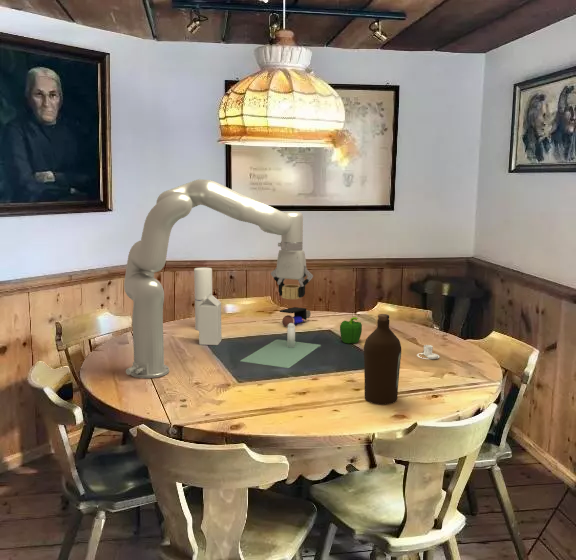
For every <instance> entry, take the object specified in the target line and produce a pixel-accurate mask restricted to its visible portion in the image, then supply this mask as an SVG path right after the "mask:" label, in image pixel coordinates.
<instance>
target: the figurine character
mask: <svg viewBox="0 0 576 560" xmlns="http://www.w3.org/2000/svg"><path fill="white" fill-rule="evenodd" d="M279 313H286V314H287V315H284V317H283V318H282V321H281V322H282V325H283V326H284V327H285V328H287V326H288V324H289V323H293V324H294V325H296V324H305V323H306V320H307V319H309V318H310V317H311V311H310V310H307V307H299V306H298V307H297V306H294V307H289V308H283V309H281V310H279ZM288 314H289V315H288ZM290 314H294V315H293V316H292V315H290Z"/></svg>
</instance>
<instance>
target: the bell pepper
mask: <svg viewBox="0 0 576 560" xmlns="http://www.w3.org/2000/svg"><path fill="white" fill-rule="evenodd" d="M354 320H355V321H354ZM357 320H358V317H354V316H352V317H350V320H349V321H348V320H342V322H341V323H340V325H339V332H340V338H341V341H342V343H345V344H357V343H359V341H360V340H361V339H360V338H361V336H362V331H363V324H362V322H360V321H357Z"/></svg>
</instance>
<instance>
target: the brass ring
mask: <svg viewBox="0 0 576 560" xmlns="http://www.w3.org/2000/svg"><path fill="white" fill-rule="evenodd" d="M299 287H300V284H291V283H290V284H289V283H288V284H285V285H283V286H282V296H281V298H282V299H285V300H298V299H302V298H303V297H301V298H300V297H299Z"/></svg>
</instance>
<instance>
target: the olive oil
mask: <svg viewBox="0 0 576 560" xmlns="http://www.w3.org/2000/svg"><path fill="white" fill-rule="evenodd" d="M376 323H377V325H376V326H377V327H376V328H375V329H374V330H373V331H372V332H371V333H370V334H369V335H368V336H367V338H366V339H365V342H364V344H363V365H364V367H363V371H364V399H365V401H367V402H368V403H370V404H374V405H391V404H395V403H396V402H397V401H398V393H399V392H398V391H399V379H400V369H401V359H402V358H401V357H402V346H401V341H400V339H399V338H398V337H397V335H396V334H395V333H394V332H393V331H392V329H390V315H389V314H387V313H379V314H378V315H377V322H376Z"/></svg>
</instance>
